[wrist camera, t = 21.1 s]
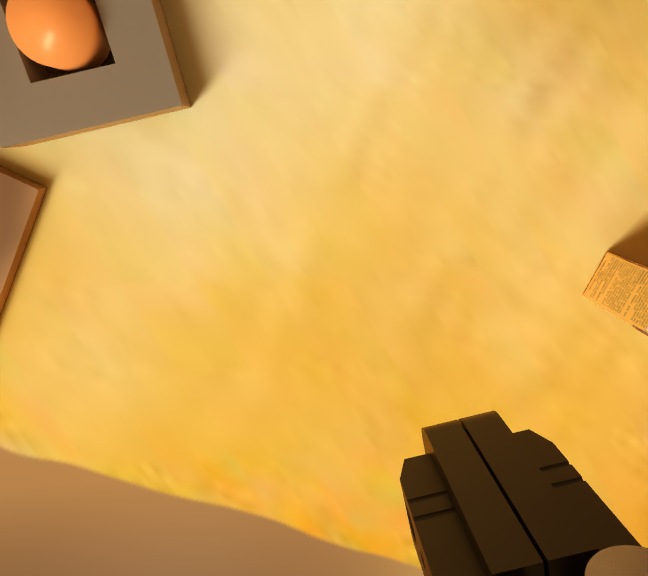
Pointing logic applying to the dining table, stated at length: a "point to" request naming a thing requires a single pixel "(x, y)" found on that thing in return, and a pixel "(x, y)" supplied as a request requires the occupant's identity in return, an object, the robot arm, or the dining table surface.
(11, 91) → the button box
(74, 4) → the button
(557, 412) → the dining table surface
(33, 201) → the picture frame
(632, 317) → the candy box
